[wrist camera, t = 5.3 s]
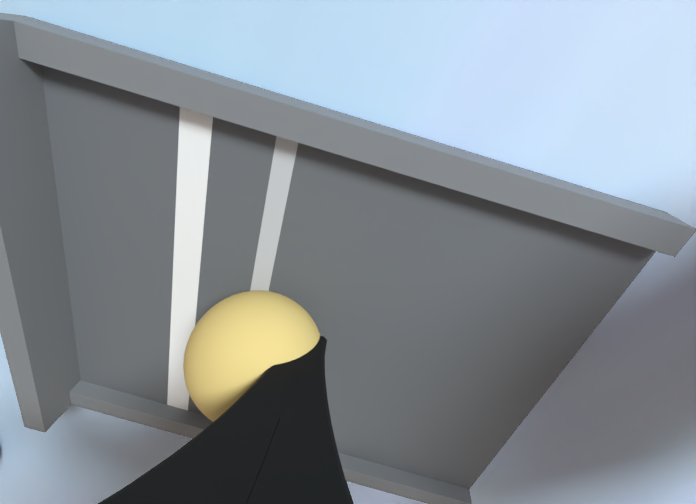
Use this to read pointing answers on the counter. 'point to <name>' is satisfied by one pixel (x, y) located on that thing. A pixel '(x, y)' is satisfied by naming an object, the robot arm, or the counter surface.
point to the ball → (243, 346)
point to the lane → (288, 256)
